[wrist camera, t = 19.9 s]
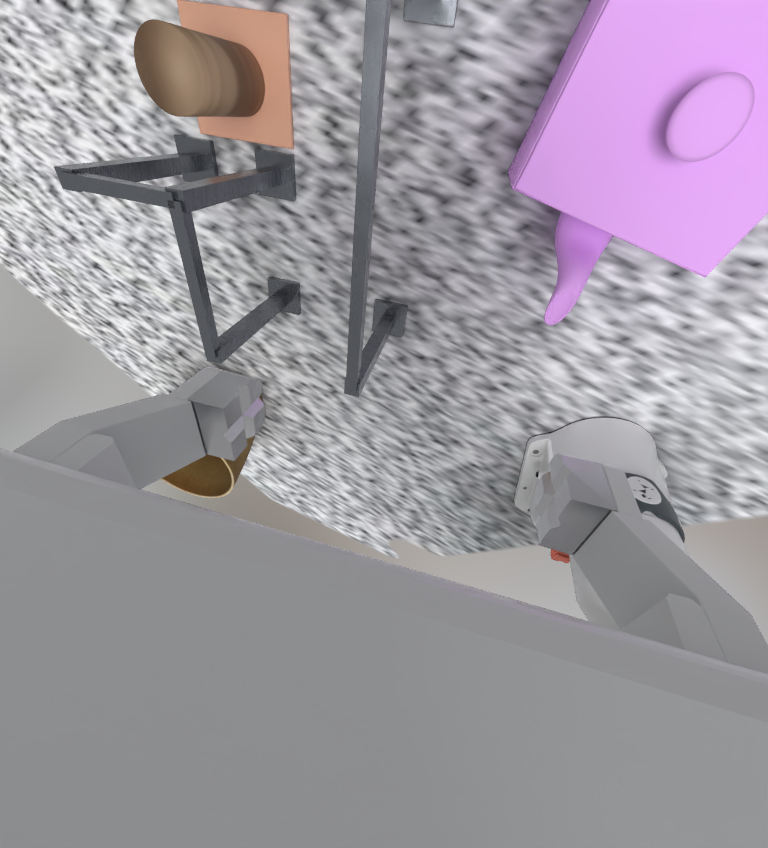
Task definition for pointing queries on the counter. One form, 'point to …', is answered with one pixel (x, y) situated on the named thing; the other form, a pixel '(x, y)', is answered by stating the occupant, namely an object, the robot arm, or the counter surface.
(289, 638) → the robot arm
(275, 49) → the tile
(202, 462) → the plant pot
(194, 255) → the dark grey bar frame
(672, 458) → the counter surface
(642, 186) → the teapot
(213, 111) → the walnut cylinder
